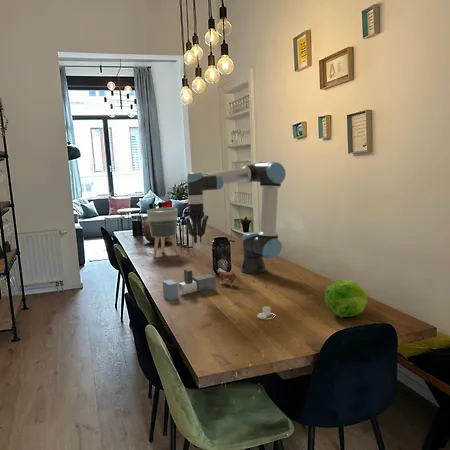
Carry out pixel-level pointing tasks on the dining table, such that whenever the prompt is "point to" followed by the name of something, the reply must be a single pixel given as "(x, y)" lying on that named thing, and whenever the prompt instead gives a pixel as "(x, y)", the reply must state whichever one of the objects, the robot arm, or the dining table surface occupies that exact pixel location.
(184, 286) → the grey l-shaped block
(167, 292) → the blue-grey block
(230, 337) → the dining table surface
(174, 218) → the planter
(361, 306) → the lettuce
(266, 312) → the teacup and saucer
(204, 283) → the grey rectangular block
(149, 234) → the pottery
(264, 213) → the robot arm
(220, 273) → the bull figurine
